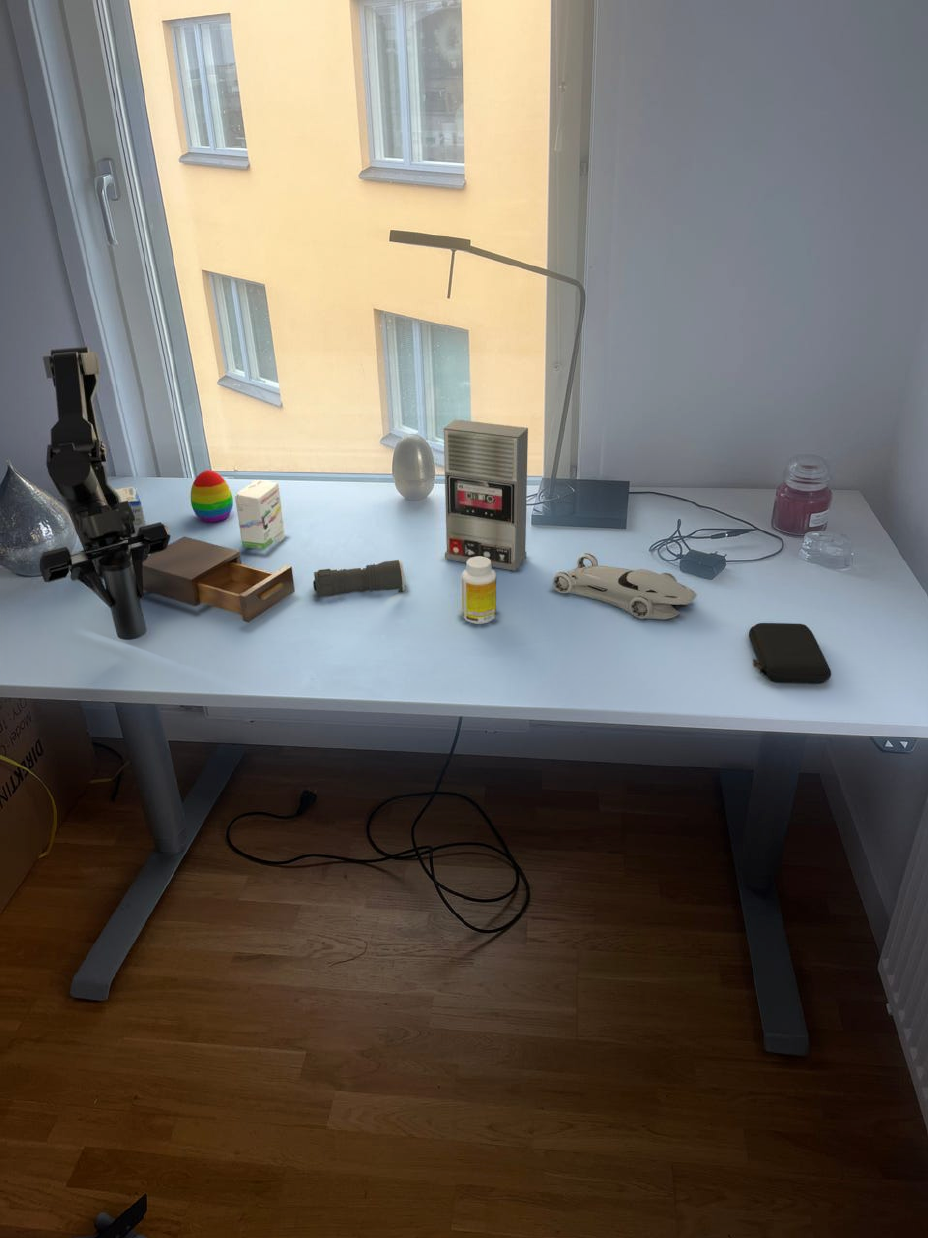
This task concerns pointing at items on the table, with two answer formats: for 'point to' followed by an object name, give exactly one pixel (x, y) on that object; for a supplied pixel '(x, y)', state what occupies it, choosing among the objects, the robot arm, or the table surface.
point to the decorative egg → (211, 497)
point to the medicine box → (133, 506)
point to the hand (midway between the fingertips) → (126, 602)
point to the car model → (626, 588)
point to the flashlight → (360, 579)
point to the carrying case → (788, 653)
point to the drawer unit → (184, 568)
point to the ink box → (260, 514)
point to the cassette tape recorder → (486, 492)
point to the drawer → (245, 589)
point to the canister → (123, 595)
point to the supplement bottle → (479, 591)
